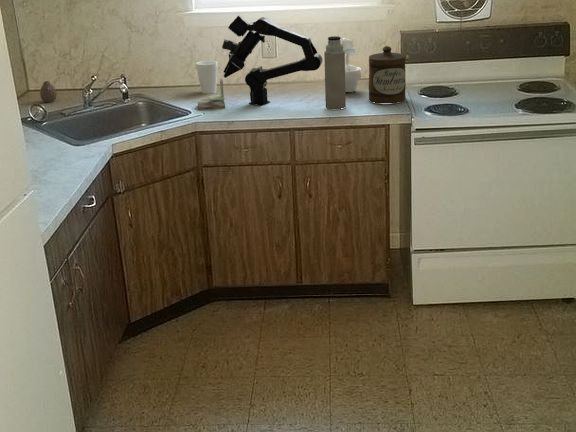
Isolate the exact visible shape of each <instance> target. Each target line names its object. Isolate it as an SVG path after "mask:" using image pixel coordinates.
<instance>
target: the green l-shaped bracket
mask: <svg viewBox="0 0 576 432" xmlns="http://www.w3.org/2000/svg"><path fill="white" fill-rule="evenodd" d="M219 85H220V86H219V87H220V94H219V95H218V94H217V95H209V97H208V98H210V101H213V100H224V101H225V99H226V98H225V94H224V81H223V78H220V79H219Z"/></svg>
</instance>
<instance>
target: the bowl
mask: <svg viewBox="0 0 576 432" xmlns="http://www.w3.org/2000/svg"><path fill="white" fill-rule="evenodd" d="M198 99H199V100H198ZM198 99H197V104H198V103H204V102H212V101H210V97H206V98H205V97H202V99H201V98H198Z"/></svg>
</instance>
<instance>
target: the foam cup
mask: <svg viewBox="0 0 576 432" xmlns="http://www.w3.org/2000/svg"><path fill="white" fill-rule="evenodd" d="M218 64H219V63H218V61H216V60H202V61H197V62H196V63H195V69H196V72H197V76H198V82H199V86H200V90H201V93H202V94H207V95H208V94H209V95H210V94H214V93H216V92H217V83H218V82H217V80H218V67H219V65H218Z"/></svg>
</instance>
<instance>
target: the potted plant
mask: <svg viewBox="0 0 576 432" xmlns="http://www.w3.org/2000/svg"><path fill="white" fill-rule="evenodd" d="M337 36H338V37H340V36H339V35H337ZM341 45H343V50H344V51H345V92H352V93H354V92H353V91H355V90H357V87H358V85H359V81H360V79H362V68H361V67H359V66H355V65H353V64H350V56H352V55H354V54H355V52H356V48H354V42H353V41H352V40H351V39H349V38H347V37H342V42H341ZM355 92H356V91H355Z"/></svg>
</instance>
